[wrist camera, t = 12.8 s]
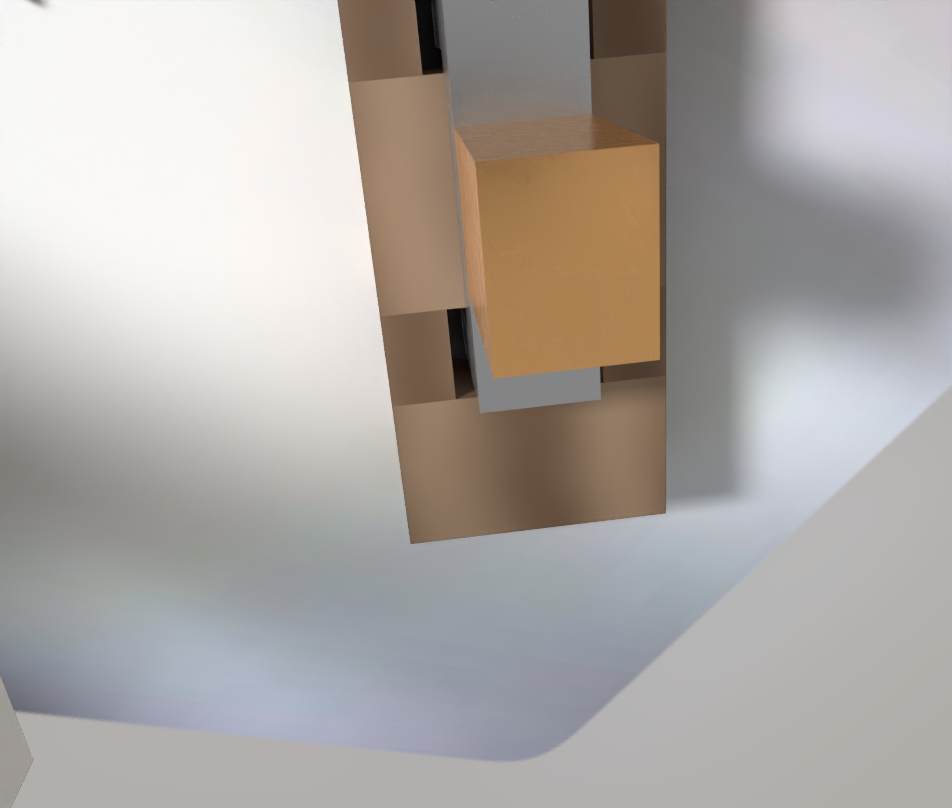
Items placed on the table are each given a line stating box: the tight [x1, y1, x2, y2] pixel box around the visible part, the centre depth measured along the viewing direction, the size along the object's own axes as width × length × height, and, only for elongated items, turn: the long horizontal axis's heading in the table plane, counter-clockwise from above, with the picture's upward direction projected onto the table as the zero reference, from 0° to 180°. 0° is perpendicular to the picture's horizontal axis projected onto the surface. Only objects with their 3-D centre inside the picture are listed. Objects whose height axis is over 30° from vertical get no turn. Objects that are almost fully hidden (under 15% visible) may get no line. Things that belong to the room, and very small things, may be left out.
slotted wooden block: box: [338, 0, 666, 544], centre depth 31 cm, size 10×26×4 cm, turn 5°
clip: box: [431, 0, 660, 413], centre depth 26 cm, size 4×13×14 cm, turn 5°
